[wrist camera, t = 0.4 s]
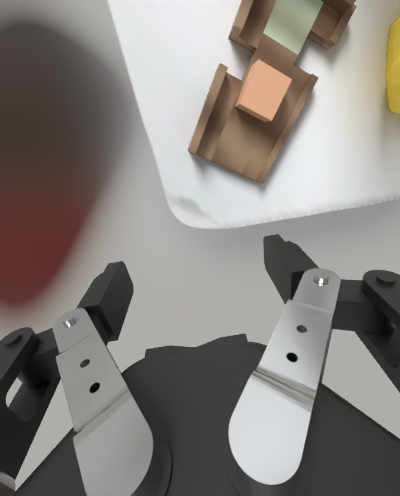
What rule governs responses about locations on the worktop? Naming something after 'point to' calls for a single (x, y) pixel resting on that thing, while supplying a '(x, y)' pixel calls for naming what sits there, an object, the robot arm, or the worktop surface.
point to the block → (263, 91)
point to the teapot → (393, 68)
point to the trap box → (278, 57)
